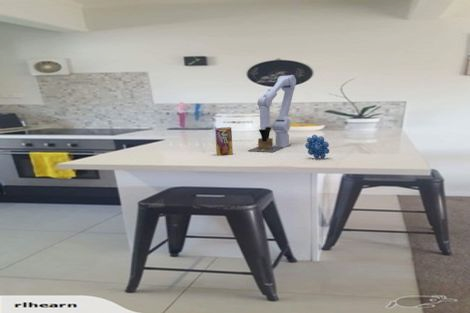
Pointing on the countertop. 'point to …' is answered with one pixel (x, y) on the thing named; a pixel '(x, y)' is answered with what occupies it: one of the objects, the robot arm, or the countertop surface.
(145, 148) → the countertop surface
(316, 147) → the blue knobbed wheel
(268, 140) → the walnut block
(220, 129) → the candy box
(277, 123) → the robot arm
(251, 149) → the mat
